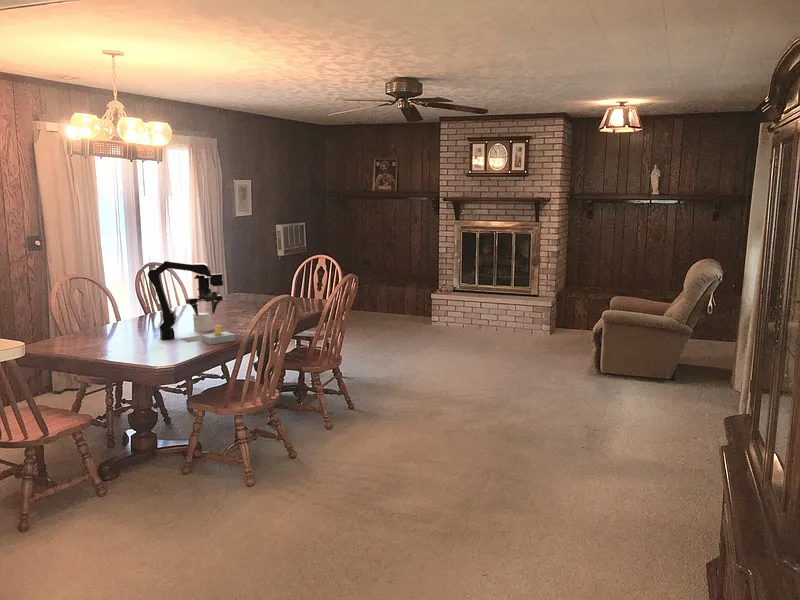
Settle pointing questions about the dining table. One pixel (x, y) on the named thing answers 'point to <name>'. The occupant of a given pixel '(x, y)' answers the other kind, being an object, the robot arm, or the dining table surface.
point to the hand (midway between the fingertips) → (205, 314)
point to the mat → (192, 338)
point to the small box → (202, 322)
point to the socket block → (218, 338)
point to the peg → (217, 330)
